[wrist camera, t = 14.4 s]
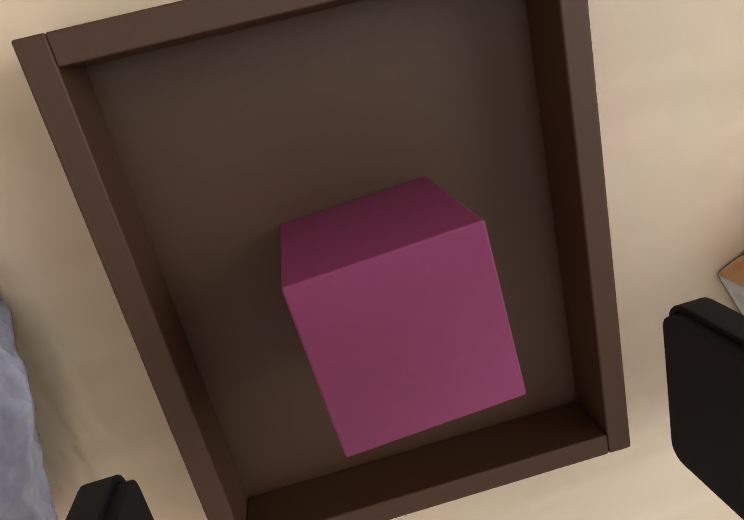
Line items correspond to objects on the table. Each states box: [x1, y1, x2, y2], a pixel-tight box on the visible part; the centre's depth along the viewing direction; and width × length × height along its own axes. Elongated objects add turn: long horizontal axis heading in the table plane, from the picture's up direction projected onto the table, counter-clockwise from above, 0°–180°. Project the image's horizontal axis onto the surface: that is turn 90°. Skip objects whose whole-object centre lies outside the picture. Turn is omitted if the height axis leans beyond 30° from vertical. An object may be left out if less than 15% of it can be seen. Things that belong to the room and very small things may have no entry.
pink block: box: [280, 176, 526, 457], centre depth 17 cm, size 5×5×6 cm
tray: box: [12, 0, 630, 520], centre depth 18 cm, size 14×17×3 cm
